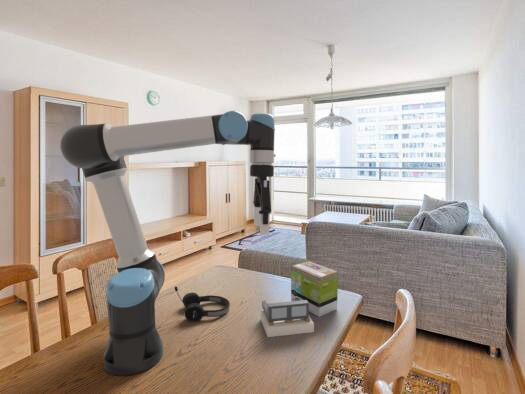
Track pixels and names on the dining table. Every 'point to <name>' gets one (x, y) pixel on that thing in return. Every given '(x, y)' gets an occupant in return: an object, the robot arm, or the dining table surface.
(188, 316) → the headset
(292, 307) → the glasses
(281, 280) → the dining table surface
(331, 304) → the tea box
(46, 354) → the dining table surface
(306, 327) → the stand
